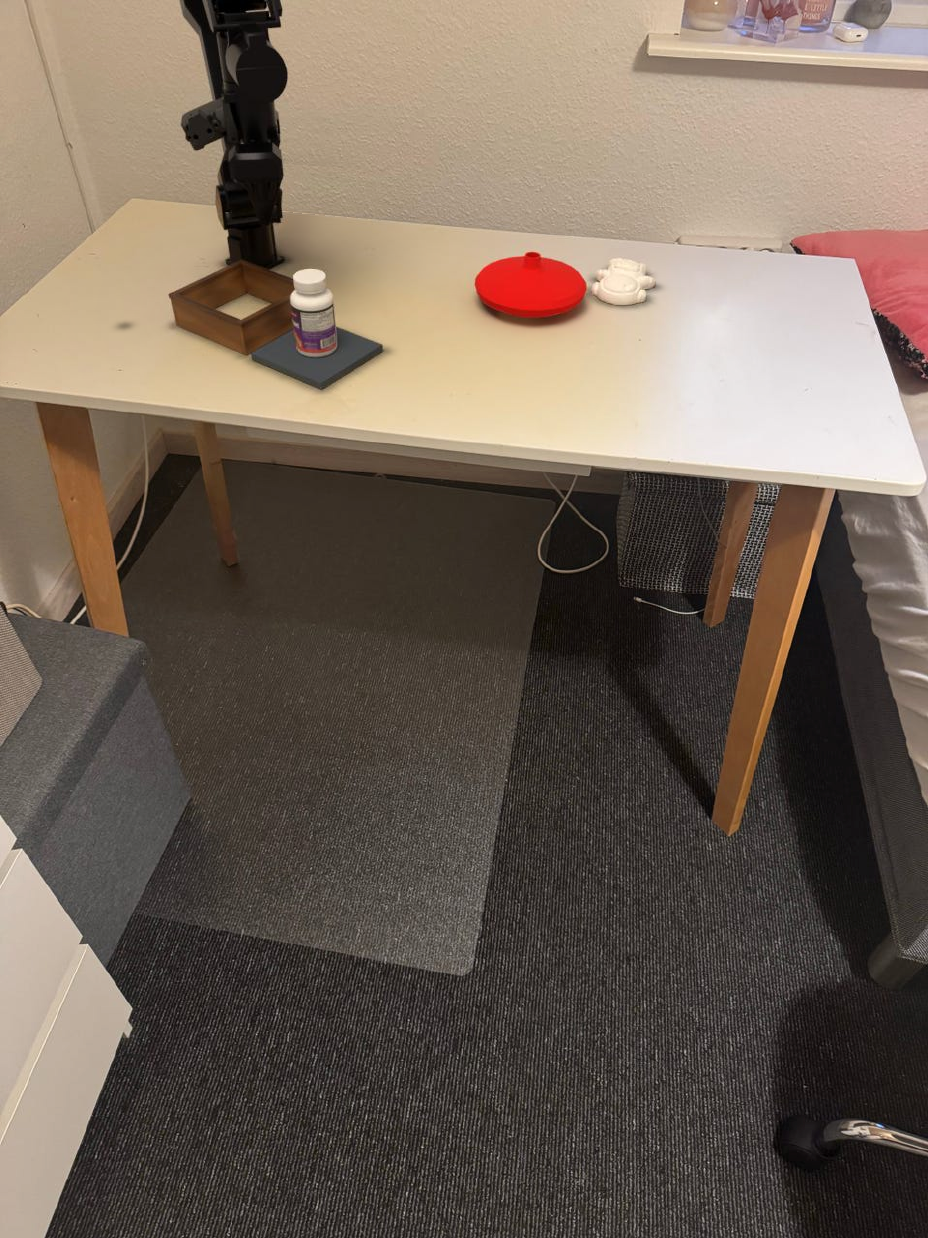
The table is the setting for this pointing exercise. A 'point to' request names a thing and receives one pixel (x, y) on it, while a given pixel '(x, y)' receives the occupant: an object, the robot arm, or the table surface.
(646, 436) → the table surface
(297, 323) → the pill bottle
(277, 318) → the wooden square frame
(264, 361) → the mat
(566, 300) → the flat cone with hole
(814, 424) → the table surface
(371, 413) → the table surface
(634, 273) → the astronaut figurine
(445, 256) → the table surface
